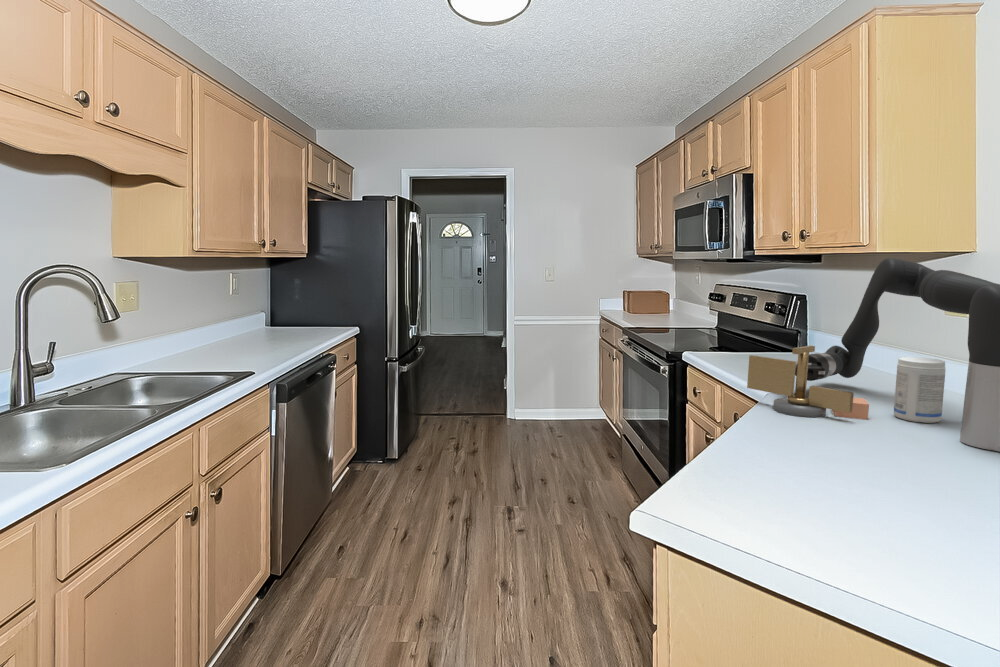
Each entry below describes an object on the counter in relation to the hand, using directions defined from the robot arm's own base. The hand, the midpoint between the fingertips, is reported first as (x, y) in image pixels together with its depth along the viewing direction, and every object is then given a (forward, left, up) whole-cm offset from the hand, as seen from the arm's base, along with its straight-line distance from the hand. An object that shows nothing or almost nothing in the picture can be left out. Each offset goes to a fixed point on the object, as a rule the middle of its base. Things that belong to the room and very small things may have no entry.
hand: (786, 372), depth 157 cm
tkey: (-9, +5, -6) cm, 12 cm away
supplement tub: (-23, -18, -8) cm, 31 cm away
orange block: (-16, -5, -8) cm, 19 cm away
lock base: (-10, +5, -8) cm, 14 cm away
